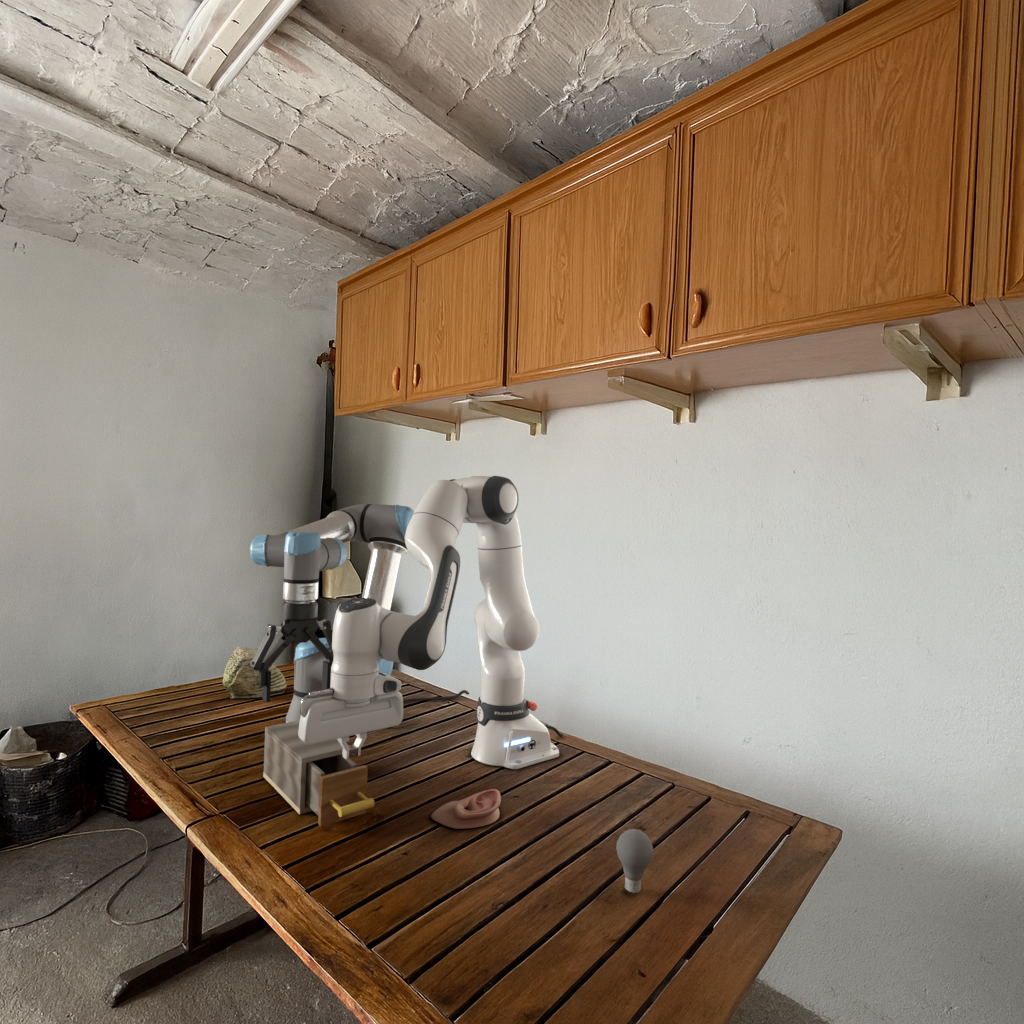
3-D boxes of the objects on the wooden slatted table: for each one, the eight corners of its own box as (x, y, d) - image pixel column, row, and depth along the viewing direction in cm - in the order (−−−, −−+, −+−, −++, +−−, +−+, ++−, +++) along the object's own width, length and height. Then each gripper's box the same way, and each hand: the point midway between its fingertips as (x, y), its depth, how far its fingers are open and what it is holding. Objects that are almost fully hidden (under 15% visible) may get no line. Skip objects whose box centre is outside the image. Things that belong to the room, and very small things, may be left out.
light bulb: (610, 879, 108) (613, 822, 108) (644, 879, 109) (647, 822, 109) (619, 902, 102) (622, 840, 102) (655, 901, 103) (658, 840, 103)
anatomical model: (426, 804, 124) (444, 779, 135) (425, 824, 124) (443, 798, 135) (492, 814, 121) (505, 787, 132) (491, 834, 121) (504, 806, 133)
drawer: (380, 824, 122) (382, 777, 121) (333, 840, 115) (335, 790, 115) (324, 776, 141) (326, 735, 141) (282, 787, 135) (284, 745, 135)
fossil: (218, 695, 195) (220, 647, 195) (278, 685, 208) (279, 640, 207) (228, 703, 189) (230, 653, 188) (289, 692, 201) (290, 645, 201)
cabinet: (349, 800, 133) (351, 747, 133) (299, 814, 126) (301, 758, 126) (309, 765, 149) (311, 717, 149) (263, 776, 142) (265, 726, 142)
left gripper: (248, 607, 131) (244, 709, 131) (359, 599, 147) (355, 690, 147) (236, 602, 136) (233, 700, 137) (345, 594, 152) (341, 682, 153)
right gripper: (307, 698, 112) (304, 775, 112) (408, 680, 125) (405, 750, 125) (294, 689, 116) (291, 763, 117) (392, 673, 130) (389, 740, 130)
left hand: (296, 695), depth 142 cm, fingers open, 13 cm apart
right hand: (351, 756), depth 121 cm, fingers closed
